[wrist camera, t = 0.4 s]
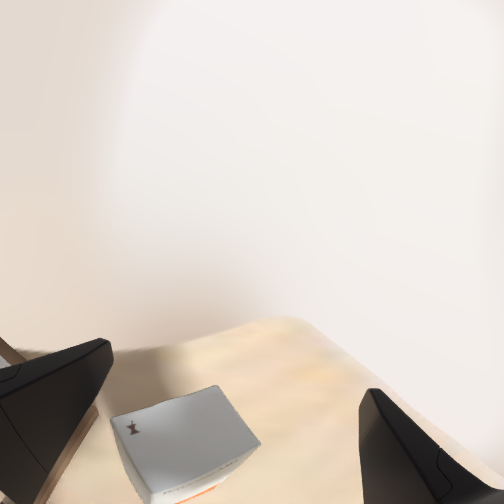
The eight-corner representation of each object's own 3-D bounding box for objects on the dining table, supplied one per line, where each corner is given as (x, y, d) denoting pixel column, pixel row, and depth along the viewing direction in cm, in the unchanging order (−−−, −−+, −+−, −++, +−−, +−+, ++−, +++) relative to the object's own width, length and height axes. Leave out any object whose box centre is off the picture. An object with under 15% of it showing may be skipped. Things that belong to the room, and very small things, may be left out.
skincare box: (151, 516, 13) (148, 497, 7) (125, 472, 15) (105, 414, 10) (217, 489, 17) (265, 443, 11) (189, 450, 19) (216, 379, 14)
